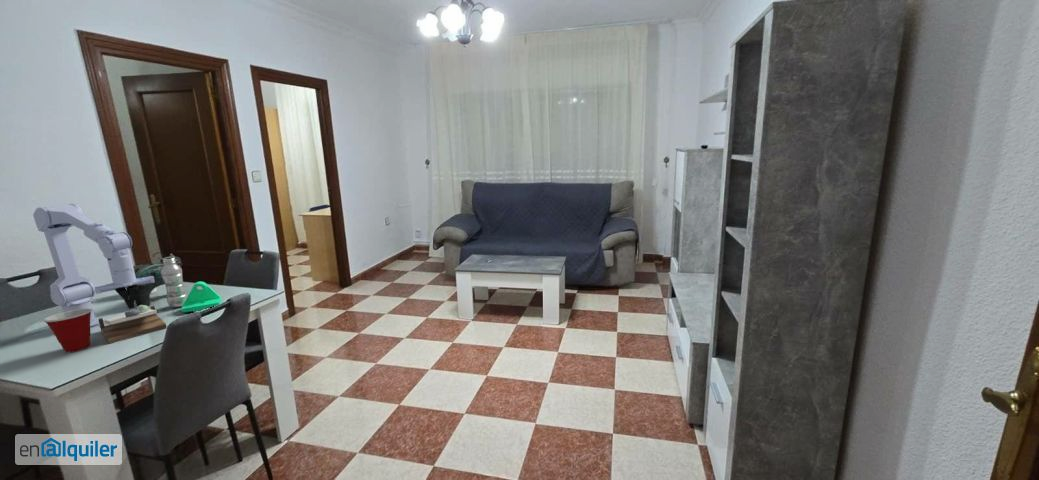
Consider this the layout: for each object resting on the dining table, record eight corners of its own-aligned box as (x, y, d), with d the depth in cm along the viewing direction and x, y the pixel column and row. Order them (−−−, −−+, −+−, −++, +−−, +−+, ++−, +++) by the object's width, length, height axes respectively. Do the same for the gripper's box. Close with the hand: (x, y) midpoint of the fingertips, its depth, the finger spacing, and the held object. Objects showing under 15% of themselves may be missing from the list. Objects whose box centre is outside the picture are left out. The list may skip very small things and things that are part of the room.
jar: (134, 292, 186) (127, 266, 183) (158, 288, 190) (152, 263, 188) (131, 298, 179) (124, 271, 176) (155, 293, 183) (149, 267, 181)
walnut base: (101, 331, 147) (97, 318, 146) (156, 317, 158) (153, 305, 157) (108, 343, 137) (105, 330, 136) (166, 328, 149) (164, 315, 147)
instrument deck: (105, 322, 147) (102, 312, 147) (149, 311, 156) (147, 302, 156) (110, 324, 137) (107, 314, 137) (157, 313, 146) (154, 303, 146)
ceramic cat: (180, 291, 187) (170, 247, 182) (192, 291, 185) (183, 248, 181) (131, 308, 168) (120, 259, 163) (144, 309, 166) (133, 260, 162)
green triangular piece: (182, 315, 160) (176, 289, 158) (185, 308, 166) (180, 284, 164) (220, 308, 166) (215, 284, 164) (222, 302, 172) (217, 278, 170)
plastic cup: (94, 337, 142) (85, 304, 139) (106, 344, 137) (97, 310, 134) (48, 351, 133) (37, 315, 130) (58, 359, 128) (48, 322, 125)
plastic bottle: (192, 305, 170) (182, 257, 165) (172, 310, 164) (161, 261, 160) (185, 302, 173) (176, 255, 169) (165, 307, 168) (154, 259, 163)
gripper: (93, 277, 131) (103, 317, 134) (152, 266, 142) (161, 303, 145) (89, 273, 136) (100, 312, 139) (148, 262, 147) (156, 299, 150)
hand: (131, 307), depth 142 cm, fingers closed
